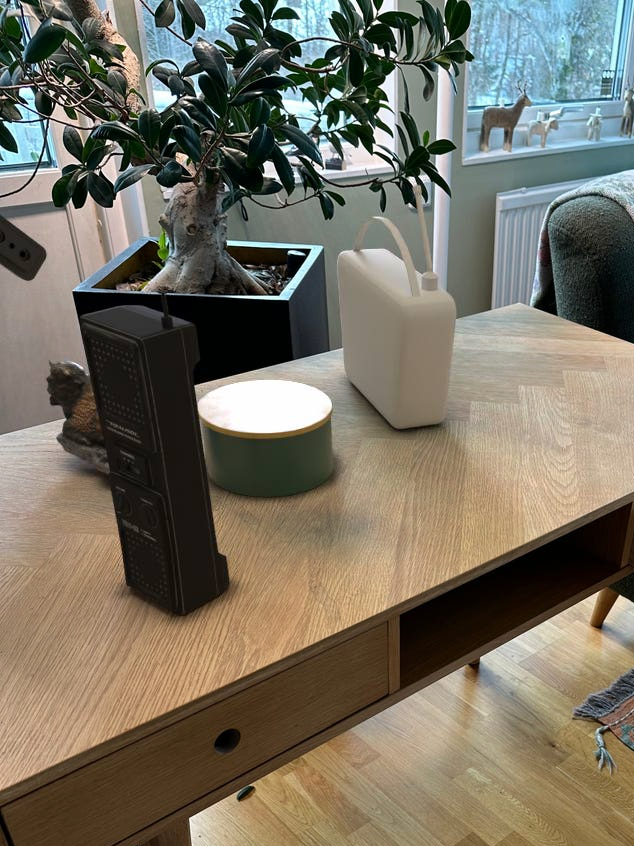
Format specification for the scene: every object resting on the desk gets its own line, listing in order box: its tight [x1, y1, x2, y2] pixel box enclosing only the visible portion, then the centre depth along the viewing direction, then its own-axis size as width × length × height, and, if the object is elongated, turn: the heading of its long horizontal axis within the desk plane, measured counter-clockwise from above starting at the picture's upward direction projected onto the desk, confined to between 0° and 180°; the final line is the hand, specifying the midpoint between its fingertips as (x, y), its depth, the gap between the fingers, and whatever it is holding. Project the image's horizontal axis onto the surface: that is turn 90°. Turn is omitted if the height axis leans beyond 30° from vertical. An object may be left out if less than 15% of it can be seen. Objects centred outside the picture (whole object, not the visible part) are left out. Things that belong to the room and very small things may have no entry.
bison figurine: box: [45, 359, 110, 476], centre depth 88 cm, size 12×7×10 cm, turn 59°
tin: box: [197, 379, 334, 498], centre depth 91 cm, size 13×13×7 cm
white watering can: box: [336, 184, 457, 430], centre depth 102 cm, size 22×8×25 cm, turn 26°
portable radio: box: [79, 289, 231, 615], centre depth 68 cm, size 8×6×25 cm
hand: (1, 251), depth 53 cm, fingers open, 8 cm apart
